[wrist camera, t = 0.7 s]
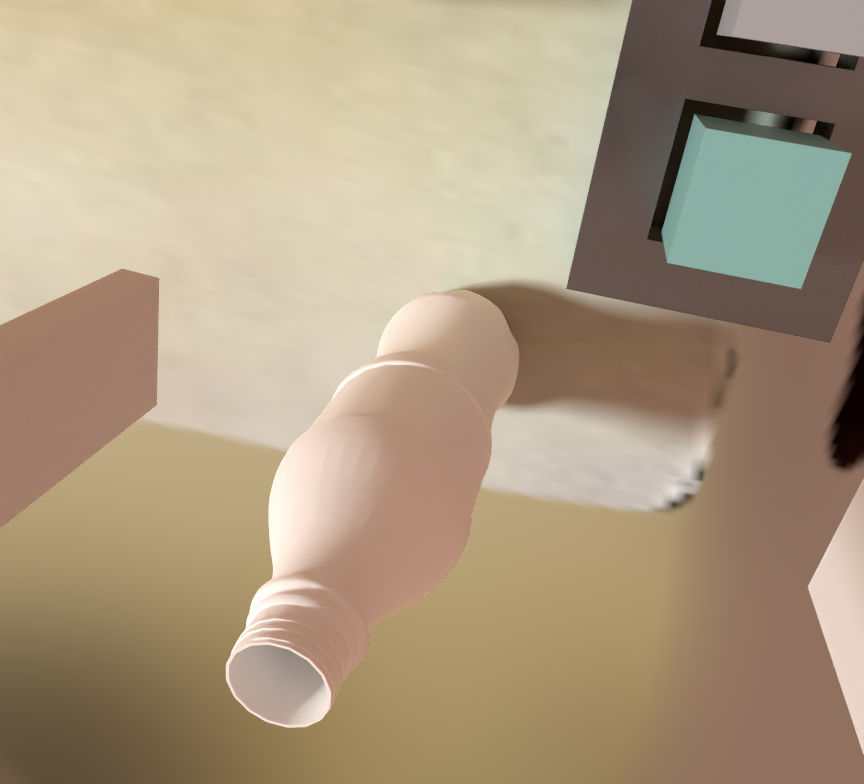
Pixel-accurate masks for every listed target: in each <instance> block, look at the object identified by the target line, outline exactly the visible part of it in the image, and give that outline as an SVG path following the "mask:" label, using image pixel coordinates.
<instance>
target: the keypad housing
mask: <svg viewBox="0 0 864 784" xmlns="http://www.w3.org/2000/svg"><path fill="white" fill-rule="evenodd" d="M711 2H712V0H632V4H631V9H630V13H629V18H628V22H627V26H626V31H625V35H624V39H623V44H622V48H621V52H620V57H619V61H618V66H617V70H616V74H615V79H614V83H613V87H612V92H611V96H610V100H609V105H608V109H607V114H606V118H605V122H604V127H603V131H602V135H601V140H600V144H599V148H598V153H597V157H596V161H595V166H594V170H593V175H592V179H591V183H590V188H589V192H588V196H587V201H586V205H585V209H584V214H583V218H582V223H581V227H580V231H579V236H578V240H577V244H576V249H575V253H574V257H573V262H572V266H571V271H570V275H569V280H568V284H567V289H570V290H575V291H580V292H585V293H590V294H595V295H600V296H604V297H609V298H614V299H619V300H624V301H629V302H634V303H639V304H644V305H648V306H653V307H658V308H663V309H668V310H673V311H678V312H683V313H688V314H693V315H697V316H702V317H707V318H712V319H717V320H722V321H727V322H732V323H737V324H741V325H746V326H751V327H756V328H761V329H766V330H771V331H776V332H781V333H786V334H790V335H795V336H800V337H806V338H810V339H815V340H820V341H825V342H830V341H831V339H832V336H833V334H834V331H835V329H836V327H837V324H838V322H839V319H840V317H841V314H842V312H843V309H844V307H845V304H846V302H847V300H848V297H849V295H850V292H851V290H852V287H853V285H854V282H855V280H856V277H857V275H858V272H859V270H860V267H861V265H862V263H863V260H864V57H858V56H851V55H844V54H840V57H839V60H838V63H837V66H836V67H832V66H826V65H820V64H813V63H807V62H801V61H794V60H788V59H782V58H775V57H769V56H762V55H756V54H750V53H743V52H737V51H731V50H724V49H718V48H712V47H705V46H700V42H701V38H702V35H703V31H704V27H705V24H706V20H707V16H708V13H709V9H710V5H711ZM685 99H690V100H696V101H702V102H708V103H714V104H720V105H726V106H732V107H738V108H744V109H750V110H756V111H762V112H768V113H774V114H780V115H786V116H792V117H798V118H804V119H810V120H816V121H817V123H816V126H815V129H814V132H813V134H815V135H820V136H822V137H824V138H826V139H827V140H829V141H831V142H833V143H834V144H836V145H838V146H840V147H842V148H843V149H845V150H847V151H849V152H850V153H852V154H851V157H850V160H849V162H848V165H847V168H846V170H845V173H844V176H843V178H842V181H841V184H840V186H839V189H838V192H837V194H836V197H835V200H834V202H833V205H832V208H831V211H830V213H829V216H828V219H827V221H826V224H825V227H824V229H823V232H822V235H821V237H820V240H819V243H818V245H817V248H816V251H815V253H814V256H813V259H812V261H811V264H810V267H809V269H808V272H807V275H806V277H805V280H804V283H803V285H802V288H801V289H798V288H793V287H788V286H783V285H778V284H773V283H768V282H762V281H757V280H752V279H747V278H742V277H737V276H732V275H727V274H722V273H717V272H711V271H706V270H701V269H696V268H691V267H686V266H681V265H676V264H671V263H667V259H666V254H665V248H664V243H663V237H662V229H663V227H658V226H652V225H651V223H652V219H653V216H654V212H655V208H656V205H657V201H658V197H659V193H660V190H661V186H662V182H663V179H664V175H665V171H666V168H667V164H668V160H669V157H670V153H671V149H672V145H673V142H674V138H675V134H676V131H677V127H678V123H679V120H680V116H681V112H682V109H683V105H684V101H685Z"/></svg>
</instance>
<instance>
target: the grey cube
mask: <svg viewBox="0 0 864 784" xmlns="http://www.w3.org/2000/svg"><path fill="white" fill-rule="evenodd" d="M717 35H721V36H728V37H734V38H741V39H747V40H754V41H760V42H766V43H773V44H779V45H786V46H792V47H799V48H805V49H812V50H818V51H824V52H831V53H837V54H844V55H851V56H858V57H864V0H726V3H725V6H724V10H723V13H722V17H721V21H720V24H719V28H718V31H717Z"/></svg>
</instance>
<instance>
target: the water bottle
mask: <svg viewBox="0 0 864 784" xmlns="http://www.w3.org/2000/svg"><path fill="white" fill-rule="evenodd" d="M518 369H519V348H518V344H517V342H516V340H515V338H514V337H513V335H512V333H511V331H510V329H509V326H508V324H507V321H506V319H505V317H504V315H503V313H502V312H501V310H500V309H499V308H498V307H497V306H496V305H494V304H493V303H492V302H491V301H489V300H488V299H486V298H484V297H483V296H481V295H479V294H476V293H474V292H471V291H468V290H454V291H449V292H442V293H435V292H433V293H424V294H422V295H420V296H418V297H416V298H415V299H413V300H411V301H409V302H408V303H407V304H406V305H405V306H404V307H402V308H401V309H400V310H399V311H398V312H397V313H396V314H395V315H394V317H393V318H392V319H391V320H390V322H389V323H388V325H387V327H386V328H385V330H384V332H383V335H382V337H381V340H380V343H379V347H378V352H377V357H376V358H375V359H373V360H371V361H369V362H367V363H365V364H364V365H362V366H360V367H359V368H357V369H356V370H355V371H353V372H352V373H351V374H350V375H349V376H347V377H346V378H345V379H344V380H343V381H342V382H341V384H340V385H339V387H338V388H337V390H336V392H335V394H334V396H333V398H332V400H331V401H330V403H329V404H328V405H327V406H326V408H325V409H324V410H323V412H322V413H321V414H320V415H319V417H318V418H317V419H316V420H315V422H314V423H313V424H312V426H311V427H310V428H309V429H308V430H307V431H306V432H304V433H303V434H302V435H301V436H300V437H299V438H298V439H297V440H296V441H295V442H294V443H293V444H292V445H291V447H290V448H289V450H288V452H287V453H286V455H285V456H284V458H283V460H282V462H281V464H280V466H279V468H278V470H277V472H276V475H275V478H274V481H273V485H272V489H271V494H270V499H269V534H270V535H269V536H270V548H271V555H272V562H273V577H272V579H271V580H270V581H268V582H266V583H265V584H264V585H263V586H262V587H261V588H260V589H259V590H258V591H257V593H256V595H255V596H254V598H253V600H252V603H251V607H250V613H249V615H248V618H247V623H246V629H245V631H244V632H243V633H242V634H241V636H240V637H239V639H238V640H237V642H236V644H235V646H234V648H233V650H232V652H231V656H230V658H229V660H228V661H227V663H226V681H227V683H228V685H229V687H230V689H231V691H232V693H233V695H234V697H235V698H236V699H237V700H238V701H239V702H240V703H241V704H242V705H243V706H244V707H245V708H246V709H247V710H248V711H249V712H251V713H253V714H254V715H256V716H257V717H259V718H261V719H263V720H264V721H266V722H269V723H272V724H276V725H280V726H284V727H307V726H309V725H311V724H313V723H315V722H318V721H320V720H322V718H323V717H324V716H325V714H326V713H327V712H328V711H329V710H330V708H331V707H332V705H333V703H334V701H335V699H336V697H337V694H338V693H339V690H340V687H341V685H342V682H343V680H344V678H346V677H347V676H348V675H349V674H350V673H351V672H352V670H353V668H354V667H355V666H356V665H357V664H358V663H359V662H360V661H361V660H362V658H363V657H364V655H365V653H366V650H367V647H368V645H369V637H370V636H369V630H370V628H371V627H372V626H373V625H375V624H376V623H378V622H380V621H381V620H383V619H385V618H387V617H389V616H391V615H393V614H395V613H397V612H399V611H401V610H403V609H405V608H406V607H408V606H409V605H411V604H413V603H415V602H416V601H418V600H420V599H421V598H422V597H424V596H425V595H426V594H428V593H429V592H430V591H432V590H433V589H434V588H435V587H436V586H437V585H438V584H440V583H441V581H442V580H443V579H444V578H445V577H446V576H447V574H448V573H449V572H450V571H451V569H452V568H453V567H454V566H455V564H456V562H457V560H458V558H459V557H460V555H461V553H462V551H463V549H464V547H465V544H466V542H467V539H468V537H469V533H470V527H471V515H472V511H473V508H474V505H475V502H476V499H477V495H478V492H479V489H480V486H481V483H482V480H483V477H484V475H485V473H486V470H487V468H488V465H489V461H490V456H491V445H492V439H491V426H492V421H493V418H494V414H495V412H496V411H497V410H498V409H500V408H501V407H502V406H503V405H504V404H505V402H506V401H507V400H508V398H509V397H510V395H511V393H512V391H513V389H514V386H515V383H516V379H517V375H518Z"/></svg>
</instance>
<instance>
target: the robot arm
mask: <svg viewBox="0 0 864 784" xmlns="http://www.w3.org/2000/svg"><path fill="white" fill-rule="evenodd" d="M158 310H159V278H156V277H152V276H148V275H145V274H141V273H137V272H133V271H129V270H125V269H121V270H119V271H116V272H114V273H112V274H110V275H108V276H106V277H103V278H101V279H99V280H97V281H95V282H93V283H91V284H88V285H86V286H84V287H82V288H80V289H78V290H75V291H73V292H71V293H69V294H67V295H65V296H62V297H60V298H58V299H56V300H54V301H52V302H50V303H47V304H45V305H43V306H41V307H39V308H37V309H34V310H32V311H30V312H28V313H26V314H24V315H22V316H19V317H17V318H15V319H13V320H11V321H9V322H6V323H4V324H2V325H0V528H1V527H2V526H4V525H5V524H6V523H8V522H9V521H10V520H11V519H13V518H14V517H15V516H16V515H18V514H19V513H20V512H21V511H22V510H24V509H25V508H27V507H28V506H29V505H30V504H32V503H33V502H34V501H35V500H37V499H38V498H39V497H40V496H42V495H43V494H44V493H46V492H47V491H48V490H49V489H51V488H52V487H53V486H55V485H56V484H57V483H58V482H60V481H61V480H62V479H63V478H64V477H66V476H67V475H68V474H70V473H71V472H72V471H73V470H75V469H76V468H77V467H79V466H80V465H81V464H82V463H84V462H85V461H86V460H87V459H89V458H90V457H91V456H93V455H94V454H95V453H96V452H98V451H99V450H100V449H101V448H103V447H104V446H105V445H106V444H108V443H109V442H110V441H111V440H113V439H114V438H115V437H117V436H118V435H119V434H120V433H122V432H123V431H124V430H125V429H127V428H128V427H129V426H131V425H132V424H133V423H134V422H136V421H137V420H138V419H139V418H141V417H142V416H143V415H144V414H146V413H147V412H148V411H150V410H151V409H152V408H153V407H155V406H156V405H157V362H158ZM808 589H809V592H810V595H811V598H812V601H813V604H814V607H815V610H816V612H817V616H818V619H819V622H820V625H821V628H822V631H823V634H824V637H825V640H826V643H827V646H828V649H829V652H830V655H831V658H832V661H833V664H834V667H835V670H836V673H837V676H838V679H839V682H840V685H841V688H842V691H843V694H844V697H845V700H846V703H847V706H848V709H849V712H850V715H851V718H852V721H853V724H854V727H855V730H856V733H857V736H858V739H859V742H860V745H861V748H862V751H863V754H864V479H863V481H862V482H861V484H860V486H859V488H858V490H857V492H856V494H855V496H854V498H853V500H852V502H851V504H850V506H849V508H848V510H847V512H846V514H845V515H844V518H843V519H842V522H841V523H840V525H839V527H838V529H837V531H836V533H835V535H834V537H833V539H832V541H831V543H830V545H829V547H828V549H827V551H826V552H825V554H824V556H823V558H822V560H821V562H820V564H819V566H818V568H817V570H816V572H815V574H814V576H813V578H812V580H811V582H810V584H809V586H808Z"/></svg>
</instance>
